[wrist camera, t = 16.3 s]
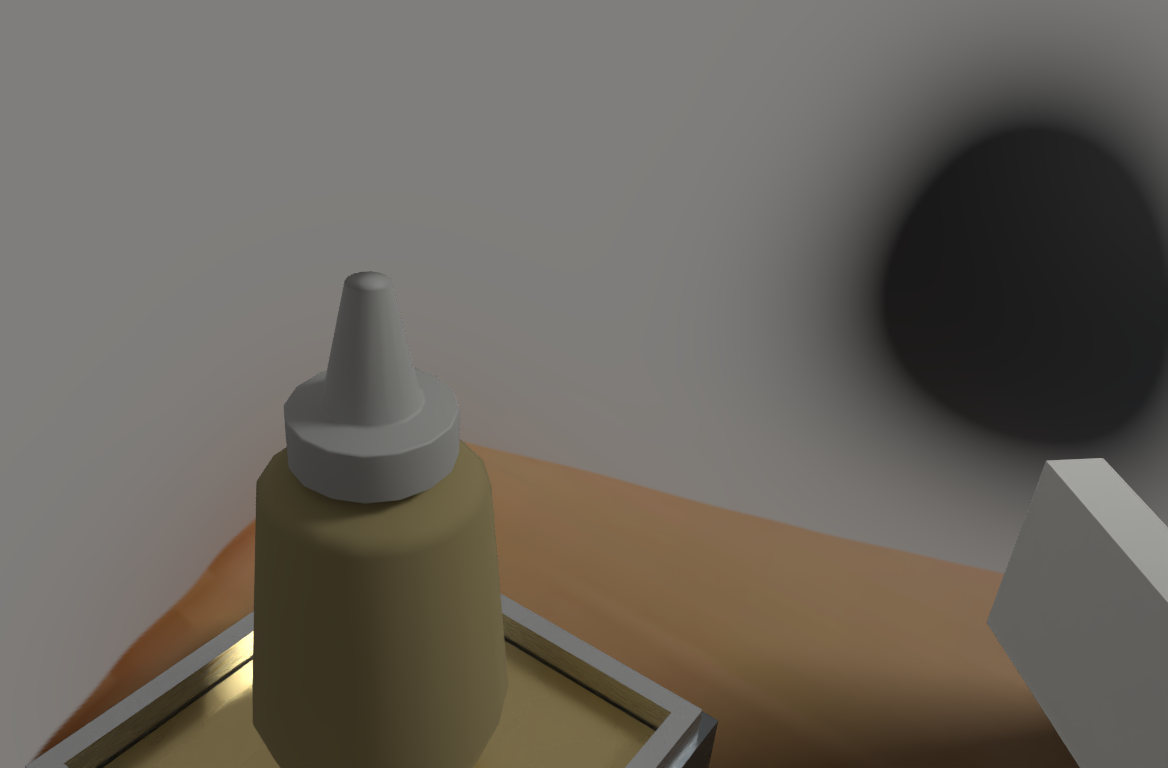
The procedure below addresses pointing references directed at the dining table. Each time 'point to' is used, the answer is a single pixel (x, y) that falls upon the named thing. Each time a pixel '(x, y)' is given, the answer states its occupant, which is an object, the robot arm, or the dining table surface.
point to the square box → (507, 764)
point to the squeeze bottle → (375, 564)
